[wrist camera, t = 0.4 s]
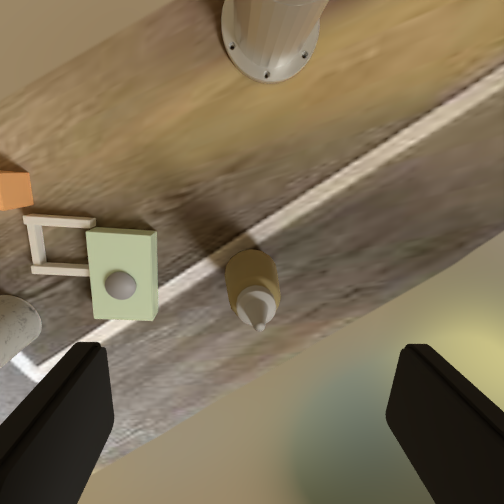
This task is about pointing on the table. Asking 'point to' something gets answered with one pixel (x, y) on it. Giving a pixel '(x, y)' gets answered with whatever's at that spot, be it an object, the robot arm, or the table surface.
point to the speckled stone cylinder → (16, 326)
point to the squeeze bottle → (253, 287)
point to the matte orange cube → (15, 190)
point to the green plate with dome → (106, 266)
